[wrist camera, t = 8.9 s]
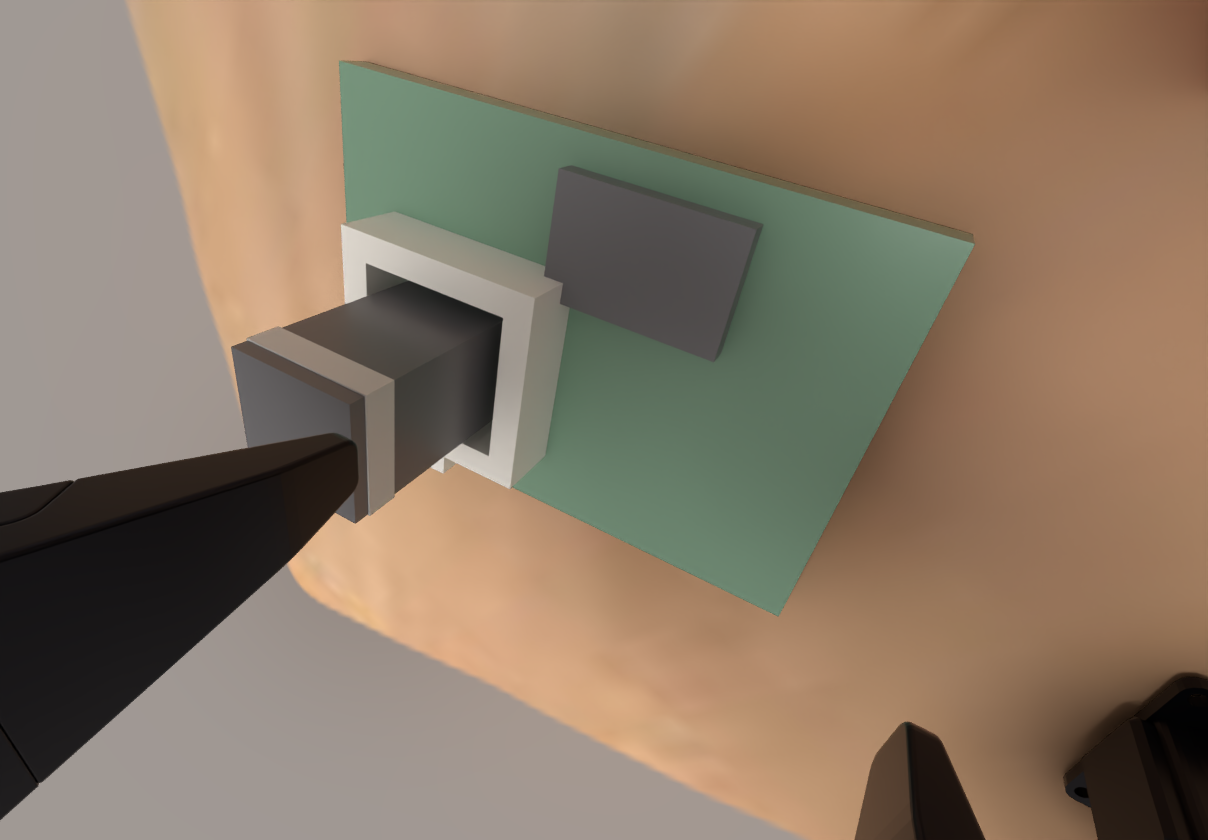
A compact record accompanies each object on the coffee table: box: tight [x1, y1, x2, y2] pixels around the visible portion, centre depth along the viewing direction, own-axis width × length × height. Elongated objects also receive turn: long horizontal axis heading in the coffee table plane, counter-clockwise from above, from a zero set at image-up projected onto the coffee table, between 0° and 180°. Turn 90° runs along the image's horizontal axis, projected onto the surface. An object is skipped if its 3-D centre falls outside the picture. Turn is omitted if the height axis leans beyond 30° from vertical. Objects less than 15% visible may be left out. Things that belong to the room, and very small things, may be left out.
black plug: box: [231, 281, 503, 524], centre depth 20 cm, size 4×4×8 cm
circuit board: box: [339, 61, 975, 617], centre depth 21 cm, size 20×14×4 cm
